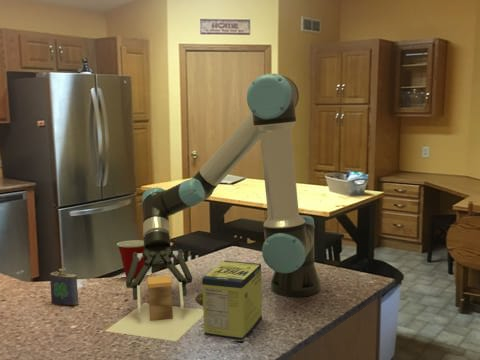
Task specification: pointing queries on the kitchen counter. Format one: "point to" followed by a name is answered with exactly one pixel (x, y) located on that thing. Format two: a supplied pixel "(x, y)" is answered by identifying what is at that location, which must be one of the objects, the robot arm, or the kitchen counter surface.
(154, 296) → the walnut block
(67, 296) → the flask
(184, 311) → the cream board
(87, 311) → the kitchen counter surface
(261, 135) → the robot arm
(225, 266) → the protein box
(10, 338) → the kitchen counter surface
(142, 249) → the plastic cup
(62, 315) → the kitchen counter surface
